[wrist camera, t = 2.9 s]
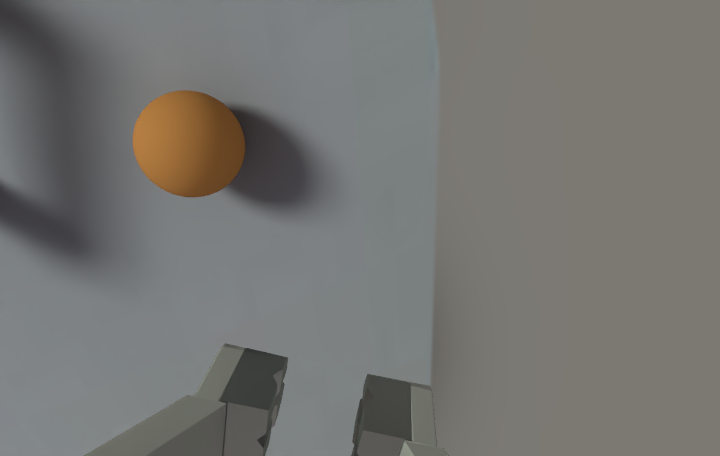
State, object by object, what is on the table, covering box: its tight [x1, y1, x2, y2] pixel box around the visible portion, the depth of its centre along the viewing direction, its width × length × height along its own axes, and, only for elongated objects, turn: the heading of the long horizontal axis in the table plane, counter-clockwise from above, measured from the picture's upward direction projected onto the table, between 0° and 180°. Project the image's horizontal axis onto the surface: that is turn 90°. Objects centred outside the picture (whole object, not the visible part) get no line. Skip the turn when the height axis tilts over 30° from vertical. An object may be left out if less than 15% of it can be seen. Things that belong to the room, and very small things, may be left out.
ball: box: [133, 91, 245, 197], centre depth 23 cm, size 6×6×6 cm
